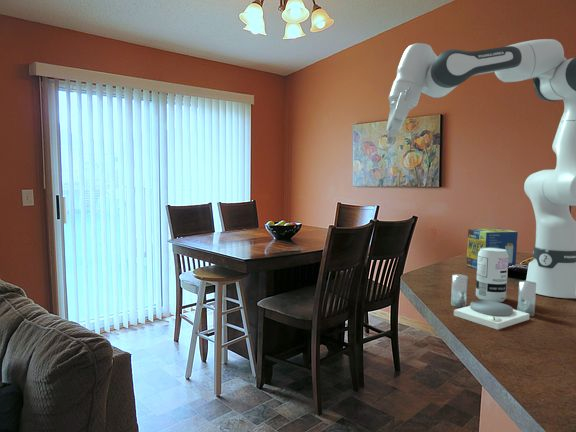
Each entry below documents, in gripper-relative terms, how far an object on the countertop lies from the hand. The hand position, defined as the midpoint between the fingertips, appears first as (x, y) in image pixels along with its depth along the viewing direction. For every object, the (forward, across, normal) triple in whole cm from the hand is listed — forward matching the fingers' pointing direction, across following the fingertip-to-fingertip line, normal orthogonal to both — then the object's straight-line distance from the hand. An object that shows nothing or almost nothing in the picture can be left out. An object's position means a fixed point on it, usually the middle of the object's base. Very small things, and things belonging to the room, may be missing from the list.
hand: (390, 140), depth 126 cm
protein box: (+26, +51, -56) cm, 80 cm away
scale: (+41, -13, -37) cm, 57 cm away
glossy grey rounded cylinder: (+41, -3, -32) cm, 52 cm away
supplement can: (+37, +5, -42) cm, 56 cm away
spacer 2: (+37, -8, -47) cm, 61 cm away
